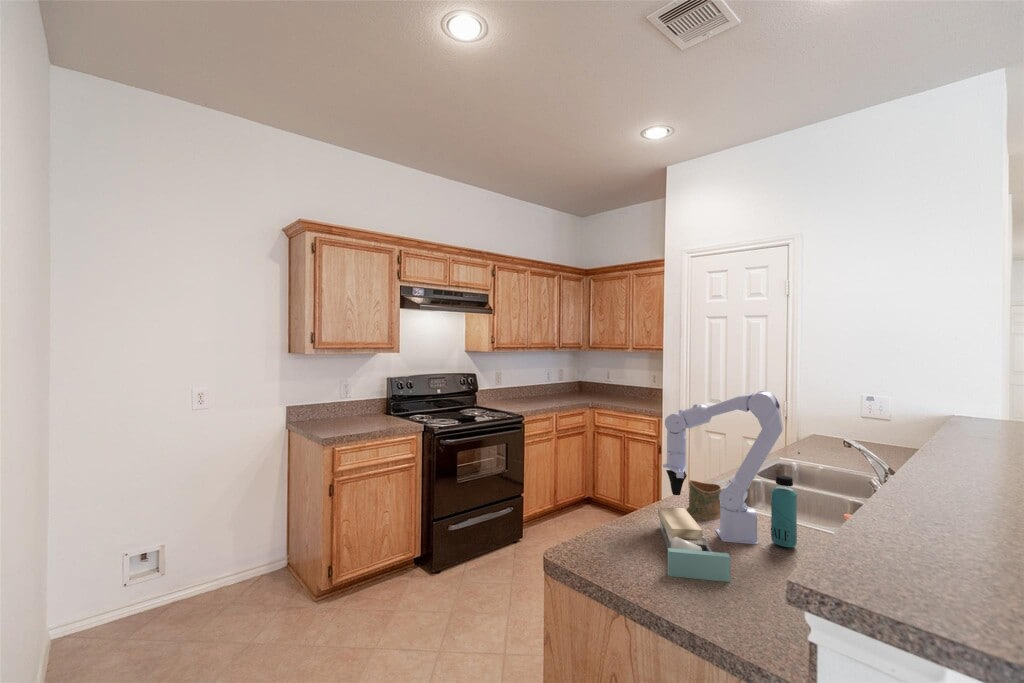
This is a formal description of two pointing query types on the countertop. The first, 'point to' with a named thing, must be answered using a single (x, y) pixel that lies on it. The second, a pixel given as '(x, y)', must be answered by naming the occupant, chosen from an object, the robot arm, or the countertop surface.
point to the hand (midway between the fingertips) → (676, 494)
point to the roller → (684, 544)
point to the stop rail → (699, 564)
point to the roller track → (668, 539)
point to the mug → (704, 500)
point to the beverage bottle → (784, 513)
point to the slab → (679, 523)
